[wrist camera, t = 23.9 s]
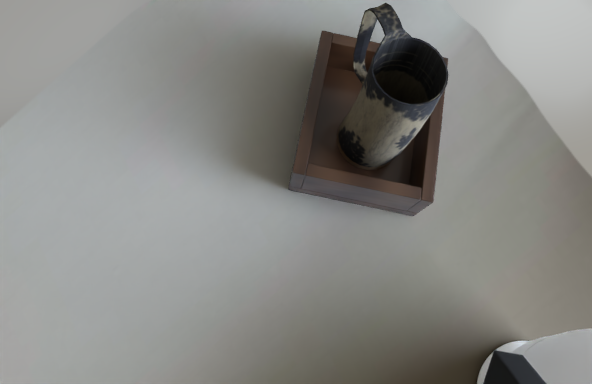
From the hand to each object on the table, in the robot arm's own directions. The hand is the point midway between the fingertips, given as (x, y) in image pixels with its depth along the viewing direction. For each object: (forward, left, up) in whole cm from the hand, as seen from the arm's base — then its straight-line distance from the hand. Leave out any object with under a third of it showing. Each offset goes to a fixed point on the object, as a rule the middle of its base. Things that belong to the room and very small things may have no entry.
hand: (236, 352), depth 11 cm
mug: (+6, +18, -23) cm, 30 cm away
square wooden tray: (+6, +18, -24) cm, 31 cm away
